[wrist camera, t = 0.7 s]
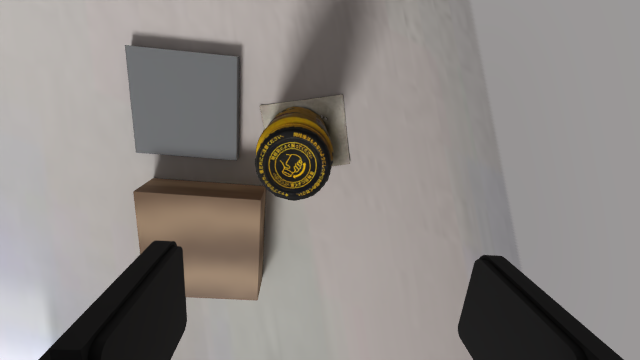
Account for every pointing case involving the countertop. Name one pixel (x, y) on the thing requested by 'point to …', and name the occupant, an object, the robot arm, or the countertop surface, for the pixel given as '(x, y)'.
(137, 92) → the coaster
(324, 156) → the condiment
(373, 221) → the countertop surface
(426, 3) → the countertop surface
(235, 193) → the block
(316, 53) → the countertop surface
